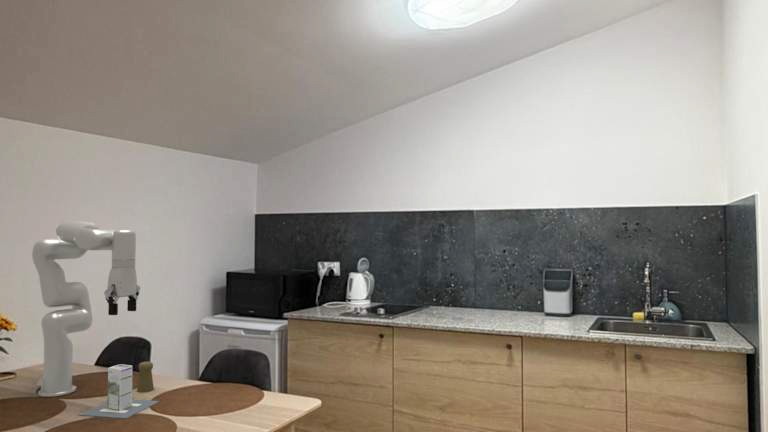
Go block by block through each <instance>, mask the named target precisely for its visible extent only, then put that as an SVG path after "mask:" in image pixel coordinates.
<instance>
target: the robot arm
mask: <svg viewBox="0 0 768 432" xmlns="http://www.w3.org/2000/svg"><path fill="white" fill-rule="evenodd" d="M55 232H56V233H55V234H56V236H57V237H47V238H42V239H39V240H37V241H36V242H35V243H34V245H33V247H32V251H31V256H32V261H33V265H34V267H35V269H36V271H37V274H38V278H39V279H38V280H39V283H40V292H41V298H42V303H43V304H44V306H45V307H47V308H62V307H72V308H66V309H58V310H57V309H56V310H53V311H49V312H48V313H45V315H44V316H43V317H42V319H41V329H42V336H43V372H42V373H43V375H42V376H43V377H42V378H43V379H40V380H38V382H37V383H35V386H36V387H40V389H39V390H38V392H37V395H38V397H45V398H47V397H49V398H51V397H59V396H64V395H68V394H72V393H74V392H75V391H77V385H76V384H75V385H74V384H73V357H74V356H73V354H74V353H73V352H74V351H73V350H74V349H73V348H74V346H73V342H72V341H71V339H70V338H69V337H68V335H69V334H73V333H79V332H84V331H87V330H89V329H90V328H91V326H92V324H93V314H92V308H91V300H90V295H89V291H88V288H87V286H86V285H85V284H84V283H83V282H81V281H67V280H66V276H65V275H66V274H65V271H64V269H63V268H62V266H61V265H60V263H57V262H56V261H55V260H72V259H73V260H75V259H80V258H81V257H83V256H84V255H85V254H86V253H87V252H88V250H89V251H111V268H110V270H109V272H108V278H107V279H108V280H107V287H106V288H107V289H106V290H105V291H104V292H103V294H104V296H105V297H104V298H105V300H106V301H107V302H106V303H107V304H108V309H107V311H108V316H117V315H118V312H119V311H118V310H119V309H118V307H119V304H118V303H117V302H118V300H119V299H120V298H126V297H127V312H136V311H137V300H138V297H139V295H140V291H141V286H140V285H138V280H137V272H136V271H137V270H136V249H137V247H136V244H137V242H136V240H137V239H136V238H137V237H136V235H137V233H136V231H135V230H133V229H105V228H104V229H103V228H100V229H99V226H98V225H97V224H96V223H95V222H93V221H88V220H87V221H86V220H67V221H64V222H63V221H62V222H61V223H60V224H58V226H57V227H56V230H55Z"/></svg>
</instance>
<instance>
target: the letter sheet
mask: <svg viewBox="0 0 768 432" xmlns="http://www.w3.org/2000/svg"><path fill="white" fill-rule="evenodd" d="M159 402H160V400H147V399H146V400H145V399H133V398H132V406H131V407H128V408H126V409H123V410H120V411H119V410H113V409H108V401H107V402H104V403H103V404H100V405H98V406H95V407H92V408H91V409H89V410H87V411H84V412H81V413H80V414H78V416H82V417H83V416H84V417H97V418H98V417H99V418H113V419H123V420H124V419H125V420H126V419H128V418H131V417H132V416H134V415H136V414H138V413H140V412H142V411H144V410H147V409H149V408H151V407H152V406H154V405H156V404H159Z"/></svg>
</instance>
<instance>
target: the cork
mask: <svg viewBox="0 0 768 432" xmlns="http://www.w3.org/2000/svg"><path fill="white" fill-rule="evenodd" d="M137 369H138V370H139V375H138V383H137V387H136V392H137V393H139V394H140V393H141V394H142V393H149V392H153V391H154V390H155V389H154V388H155V387H154V381H153V380H154V379H153V371H152V370H153V369H154V364H153V362H152V361H143V362H140V363H139V364H138V368H137Z"/></svg>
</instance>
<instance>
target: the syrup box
mask: <svg viewBox="0 0 768 432" xmlns="http://www.w3.org/2000/svg"><path fill="white" fill-rule="evenodd" d="M107 370H108V371H107V402H108V409H113V410H119V411H120V410H123V409H126V408H128V407H131V406H132V399H133V365H130V364H123V363H122V364H121V363H120V364H116V365H113V366H110V367H108V368H107Z"/></svg>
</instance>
